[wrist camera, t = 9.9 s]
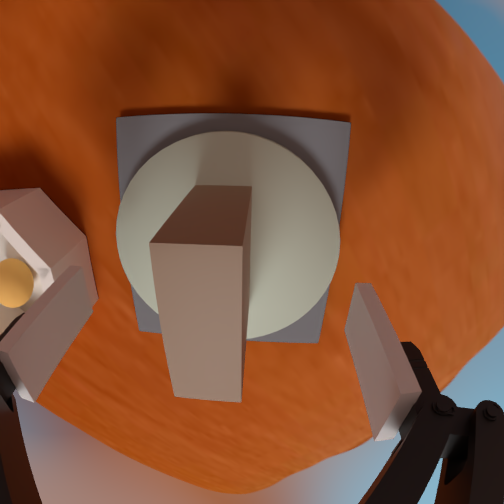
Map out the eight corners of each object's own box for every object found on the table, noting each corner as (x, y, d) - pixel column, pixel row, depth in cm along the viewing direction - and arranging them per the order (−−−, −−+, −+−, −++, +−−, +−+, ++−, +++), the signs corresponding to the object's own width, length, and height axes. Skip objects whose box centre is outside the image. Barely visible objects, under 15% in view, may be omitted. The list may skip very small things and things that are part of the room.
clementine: (4, 248, 22) (-24, 270, 18) (35, 251, 22) (7, 275, 18) (16, 289, 23) (-9, 313, 20) (47, 293, 23) (22, 321, 20)
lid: (114, 135, 18) (18, 166, 10) (347, 137, 18) (413, 167, 9) (138, 321, 24) (94, 413, 16) (321, 331, 24) (340, 433, 15)
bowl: (-29, 192, 20) (-66, 212, 16) (79, 185, 20) (38, 209, 15) (5, 314, 26) (-21, 343, 21) (107, 335, 26) (85, 374, 21)
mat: (120, 117, 18) (116, 117, 17) (348, 122, 18) (350, 122, 17) (141, 326, 25) (139, 330, 24) (317, 338, 25) (318, 342, 24)
